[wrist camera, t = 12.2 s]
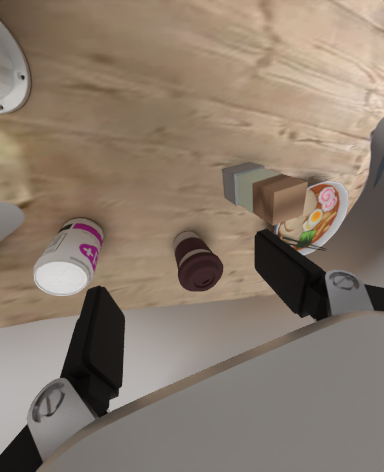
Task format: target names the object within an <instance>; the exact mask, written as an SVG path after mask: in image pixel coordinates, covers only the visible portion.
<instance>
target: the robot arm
mask: <svg viewBox="0 0 384 472" xmlns="http://www.w3.org/2000/svg"><path fill="white" fill-rule="evenodd" d="M22 76H24V77H25V80H23V79H22ZM30 88H31V77H30V71H29V67H28V64H27V61H26V58H25V56H24V54H23V51H22V50H21V48H20V46H19V44H18V43H17V41H16V39H15V38H14V37H13V35H12V34H11V33H10V31H9V30H8V29H7V27H6V26H5V25H4V24H3V23H2V22H1V21H0V114H8V113H11V112H14V111H16V110H18V109H19V108H21V107H22V106H23V105H24V104H25V102H26V101H27V99H28V96H29V94H30ZM2 105H3V107H4V109H2ZM255 269H256V271H257V272H258V273H259V274H260V275H261V277H262V278H263V279H264V280H265V281H266V282H267V283H268V284H269V286H270V287H271V288H272V289H273V290H274V291H275V292H276V294H277V295H278V296H279V297H280V298H281V299H282V300H283V301H284V303H286V305H287V306H288V307H289V308H290V309H291V310H292V312H294V313H295V314H298V315H299V316H300V317H301V318H303V317H305V316H308V315H310V316H311V317H312V318H313V319H314V323H312V324H310V325H307V326H305V327H302V328H300V329H298V330H295V331H293V332H291V333H288V334H286V335H283V336H281V337H279V338H276V339H274V340H272V341H269V342H267V343H265V344H263V345H261V346H258V347H256V348H253V349H251V350H249V351H246V352H244V353H242V354H239V355H237V356H235V357H232V358H230V359H228V360H226V361H223V362H221V363H219V364H216V365H214V366H212V367H209V368H207V369H205V370H202V371H201V372H198V373H196V374H194V375H191V376H189V377H187V378H184V379H182V380H180V381H177V382H175V383H173V384H171V385H168V386H166V387H164V388H162V389H159V390H157V391H155V392H152V393H150V394H148V395H146V396H144V397H141V398H139V399H137V400H135V401H133V402H131V403H129V404H126V405H124V406H122V407H120V408H118V409H115V410H113V411H112V412H110V411H109V409H108V408H109V400H111V399H113V398H115V397H118V394H119V388H120V387H121V386H122V377H123V355H124V332H125V331H124V330H125V317H124V315H123V313H122V311H121V310H120V308H119V307H118V305H117V304H116V303H115V301H114V300H113V298H112V297H111V295H110V294H109V292H108V291H107V289H106V288H105V287H101V286H96V287H93V288H90V289H88V291H87V294H86V297H85V301H84V304H83V307H82V311H81V314H80V318H79V319H78V320H77V323H76V325H75V329H74V332H73V335H72V339H71V343H70V346H69V349H68V353H67V356H66V359H65V362H64V366H63V369H62V373H61V376H60V378H58V379H55V380H54V381H52V382H50V383H49V384H47V385H46V386H45V387H44V388H43V389H42V390H41V391H40V392H39V393H38V395H37V396H36V398H35V399H34V401H33V402H32V404H31V407H30V409H29V411H28V415H27V425H26V426H25V427H24V428H23V429H22V431H21V432H20V433H19V434H18V435H17V436H16V438H15V439H14V440H13V441H12V442H11V443H10V444H9V446H8V447H7V448H6V449H5V450H4V451H3V453H2V454H1V455H0V472H384V288H381V287H376V286H371V285H366V284H364V283H363V282H362V280H361V279H360V278H359V277H358V276H356V275H354V274H352V273H350V272H347V271H343V270H331V271H329V272H327V273H326V272H325V271H323V270H322V269H321V268H320V267H319V266H317V265H316V264H314V263H313V262H312V261H310V260H309V259H307V258H306V257H305V256H304V255H302V254H301V253H299V252H298V251H297V250H295V249H294V248H293V247H291V246H290V245H288V244H287V243H286V242H284V241H283V240H282V239H280V238H279V237H277V236H276V235H275V234H273V233H272V232H271V231H269V230H268V229H264V230H261V231H258V232H257V234H256V235H255Z"/></svg>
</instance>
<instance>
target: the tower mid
mask: <svg viewBox="0 0 384 472" xmlns="http://www.w3.org/2000/svg"><path fill="white" fill-rule="evenodd" d="M280 174H282V173H278V172H275V171H271V170H268V169H264V168H262V169H258V170H255V171H252V172H248V173H245V174H242V175H238V176H236V180H237V195H238V204H240V205H241V206H243V207H244V208H246V209H247V210H249V211H250V212H251V213H253V189H252V183H254V182H257V181H261V180H264V179H267V178H270V177H274V176H277V175H280Z"/></svg>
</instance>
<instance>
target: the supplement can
mask: <svg viewBox="0 0 384 472" xmlns="http://www.w3.org/2000/svg"><path fill="white" fill-rule="evenodd" d="M103 238H104V235H103V231H102V229H101V228H100V226H99V225H98V224H96V223H95V222H93V221H91V220H88V219H82V218H77V219H73V220H70V221H68V222H67V223H65V224H64V226H63V227H62V228H61V230H60V231H59V232H58V234H57V235H56V236H55V238H54V239H53V240H52V242H51V243H50V244H49V246H48V247H47V248H46V250H45V251H44V253H43V254H42V255H41V257H40V258H39V259H38V261H37V262H36V264H35V266H34V281H35V283H36V285H37V286H38V287H39V288H40V289H41V290H43V291H44V292H47V293H49V294H52V295H59V296H65V295H72V294H75V293H78V292H79V291H81V290H82V289H83V288H84V287H85V286H86V285H88V284H89V283H90V281H91V280H92V279H93V275H94V271H95V268H96V264H97V261H98V257H99V253H100V250H101V246H102V243H103Z"/></svg>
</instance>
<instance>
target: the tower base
mask: <svg viewBox="0 0 384 472" xmlns="http://www.w3.org/2000/svg"><path fill="white" fill-rule="evenodd" d="M262 168H264V166H262V165H258V164H254V163H250V162H248V163H244V164H241V165H237V166H233V167H230V168H226V169H222V172H223V183H224V195H225V198H226V199H228V200H229V201H230V202H232V203H233V204H234V205H239V204H238V195H237V180H236V176H238V175H242V174H245V173H248V172H252V171H255V170H258V169H262Z"/></svg>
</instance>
